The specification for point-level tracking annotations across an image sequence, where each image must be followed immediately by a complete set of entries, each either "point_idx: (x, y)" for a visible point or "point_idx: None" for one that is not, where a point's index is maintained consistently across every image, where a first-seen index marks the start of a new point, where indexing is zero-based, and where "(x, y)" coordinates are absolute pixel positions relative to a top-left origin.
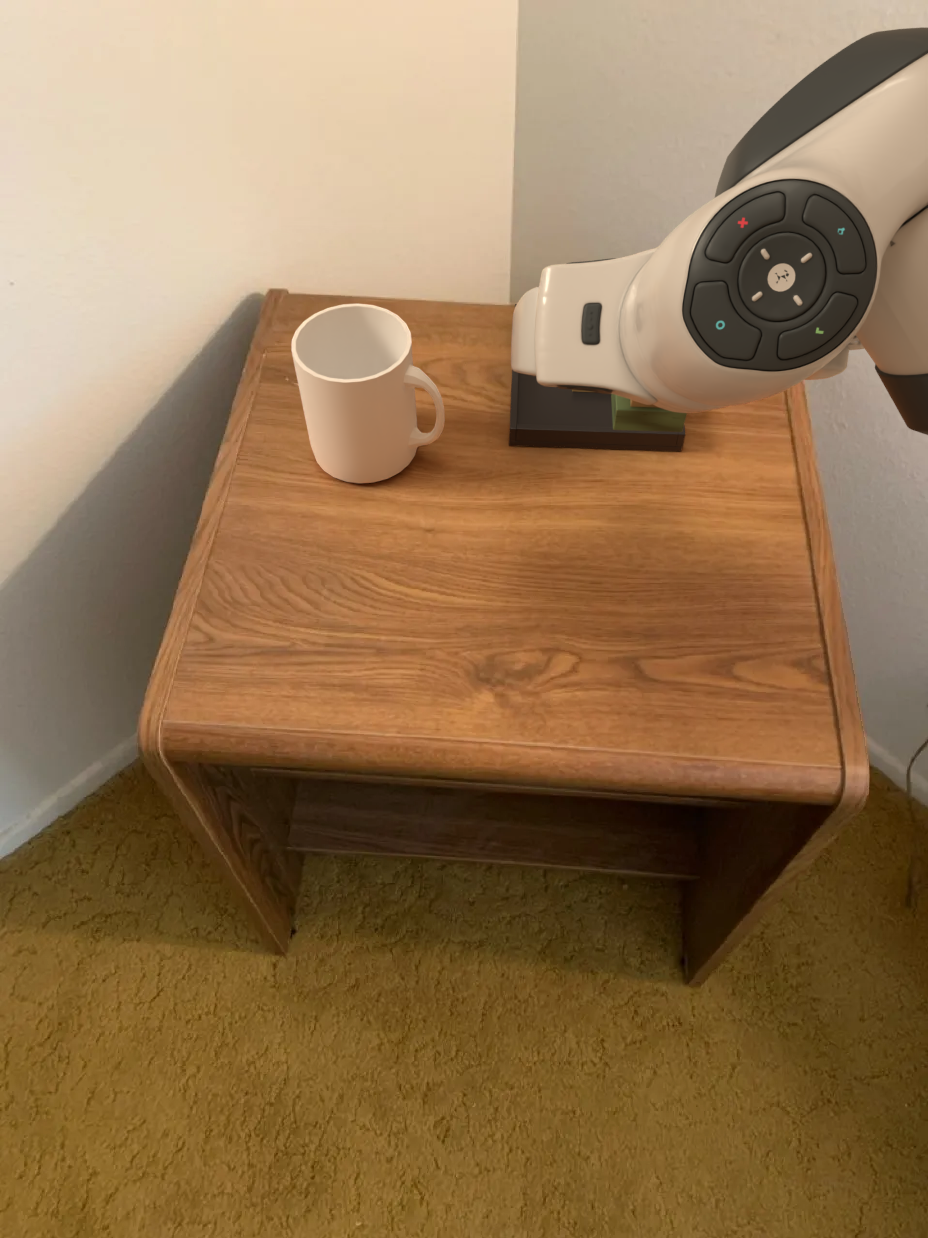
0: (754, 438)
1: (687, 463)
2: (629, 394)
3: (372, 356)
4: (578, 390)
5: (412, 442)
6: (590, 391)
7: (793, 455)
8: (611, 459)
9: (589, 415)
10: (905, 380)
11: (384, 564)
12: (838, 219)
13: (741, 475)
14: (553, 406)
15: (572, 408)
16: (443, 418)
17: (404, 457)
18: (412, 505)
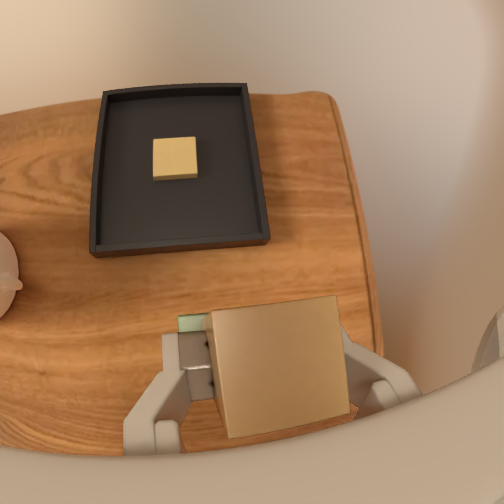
0: (328, 220)
1: (271, 259)
2: None
3: None
4: (160, 179)
5: (5, 290)
6: (172, 179)
7: (359, 237)
8: (197, 263)
9: (171, 210)
10: None
11: (20, 410)
12: None
13: (320, 268)
14: (135, 203)
15: (154, 203)
16: (13, 284)
17: (5, 301)
18: (24, 344)
